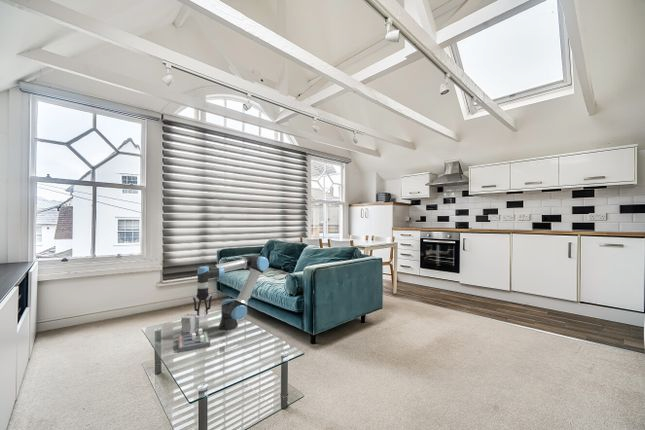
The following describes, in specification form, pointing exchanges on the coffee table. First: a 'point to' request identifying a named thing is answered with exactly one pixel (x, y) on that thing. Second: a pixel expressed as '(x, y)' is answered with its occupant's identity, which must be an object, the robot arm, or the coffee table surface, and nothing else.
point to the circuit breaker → (189, 324)
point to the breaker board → (192, 342)
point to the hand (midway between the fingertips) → (202, 319)
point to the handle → (200, 331)
